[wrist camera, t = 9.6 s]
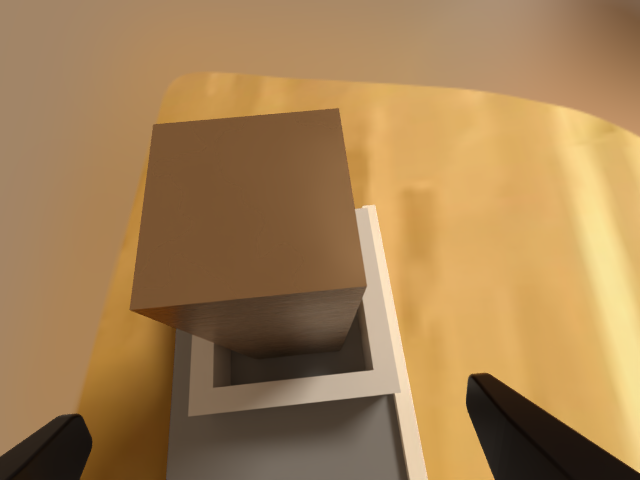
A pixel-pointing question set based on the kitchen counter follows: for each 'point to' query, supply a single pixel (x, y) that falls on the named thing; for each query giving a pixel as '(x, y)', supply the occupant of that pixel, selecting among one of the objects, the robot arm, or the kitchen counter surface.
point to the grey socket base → (301, 400)
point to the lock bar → (251, 233)
